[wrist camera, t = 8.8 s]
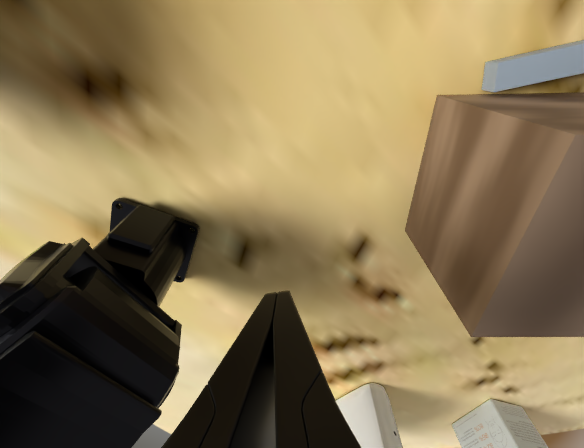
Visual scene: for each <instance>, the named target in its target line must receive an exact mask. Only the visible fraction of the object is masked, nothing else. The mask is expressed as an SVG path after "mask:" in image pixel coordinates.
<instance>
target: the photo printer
mask: <svg viewBox="0 0 584 448" xmlns="http://www.w3.org/2000/svg"><path fill="white" fill-rule="evenodd" d="M336 403H337V405H338V407H339V409H340V410H341V412H342V414H343V416H344V418H345V420H346V422H347V423H348V425H349V427H350V429H351V430H352V432H353V434H354V436H355V437H356V439H357V441H358V443H359V444H360V446H361V448H403V446H402V443H401V439H400V436H399V432H398V429H397V425H396V422H395V418H394V414H393V411H392V407H391V403H390V400H389V397H388V395H387V393H386V392H385V389H384V387H382V386H381V385H379V384H376V383H369V384H366V385H363V386H361V387H359V388H357V389H356V390H354V391H352V392H350V393H348V394H347V395H345V396H343V397H341V398H340V399H338V400H336Z"/></svg>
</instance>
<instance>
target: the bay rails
mask: <svg viewBox="0 0 584 448" xmlns="http://www.w3.org/2000/svg"><path fill="white" fill-rule="evenodd" d="M582 73H584V40H581V41H576V42H572V43H568V44H563V45H559V46H554V47H550V48H545V49H541V50H537V51H532V52H528V53H523V54H519V55H514V56H510V57H506V58H501V59H497V60H492V61H488V62H485V69H484V77H483V84H482V90H485V91H490V92H497V91H502V90H507V89H511V88H516V87H521V86H525V85H530V84H535V83H539V82H544V81H549V80H554V79H558V78H563V77H568V76H572V75H577V74H582Z"/></svg>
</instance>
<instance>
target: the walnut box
mask: <svg viewBox="0 0 584 448" xmlns="http://www.w3.org/2000/svg"><path fill="white" fill-rule="evenodd" d="M405 231H406V233H407V235H408V236H409V238H410V240H411V241H412V243H413V244H414V246H415V248H416V249H417V251H418V252H419V254H420V256H421V257H422V259H423V260H424V262H425V264H426V265H427V267H428V268H429V270H430V272H431V273H432V275H433V277H434V278H435V280H436V281H437V283H438V285H439V286H440V288H441V289H442V291H443V293H444V294H445V296H446V297H447V299H448V301H449V302H450V304H451V305H452V307H453V309H454V310H455V312H456V314H457V315H458V317H459V318H460V320H461V322H462V323H463V325H464V326H465V328H466V330H467V331H468V333H469V334H470V336H471V337H584V93H532V94H476V95H437V98H436V102H435V106H434V110H433V114H432V119H431V123H430V127H429V131H428V135H427V140H426V144H425V148H424V152H423V156H422V161H421V165H420V169H419V173H418V177H417V182H416V186H415V190H414V194H413V198H412V203H411V207H410V211H409V215H408V219H407V224H406V228H405Z"/></svg>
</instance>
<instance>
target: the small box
mask: <svg viewBox="0 0 584 448" xmlns="http://www.w3.org/2000/svg"><path fill="white" fill-rule="evenodd" d="M452 426H453V429H454V431H455V433H456V436H457V438H458V440H459V443H460V445H461V447H462V448H548V446H547V445H546V443H545V441H544V440H543V438H542V437H541V435H540V434H539V432H538V431H537V429H536V428H535V426H534V425H533V423H532V422H531V420H530V418H529V417H528V415H527V414H526V412H525V411H524V409H523V408H522V407H521V406H517V405H513V404H509V403H505V402H501V401H497V400H493V399H489V400H487V401H486V402H484V403H483V404H481V405H480V406H478V407H477V408H475V409H474V410H473V411H471V412H469V413H468V414H467V415H465V416H463V417H462V418H460V419H459V420H458V421H456V422H455V423H453V424H452Z"/></svg>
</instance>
